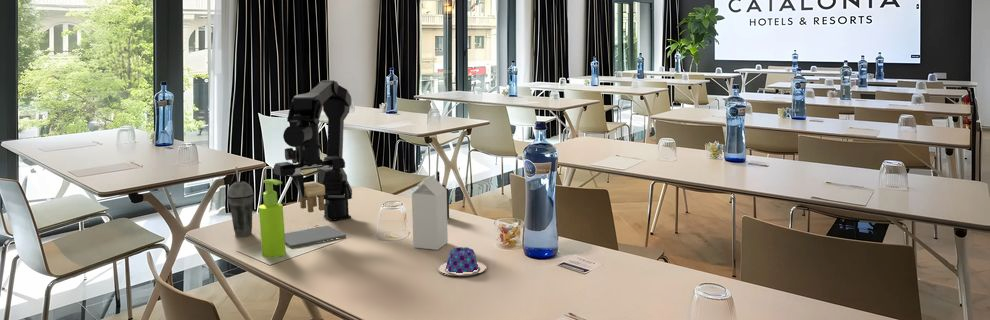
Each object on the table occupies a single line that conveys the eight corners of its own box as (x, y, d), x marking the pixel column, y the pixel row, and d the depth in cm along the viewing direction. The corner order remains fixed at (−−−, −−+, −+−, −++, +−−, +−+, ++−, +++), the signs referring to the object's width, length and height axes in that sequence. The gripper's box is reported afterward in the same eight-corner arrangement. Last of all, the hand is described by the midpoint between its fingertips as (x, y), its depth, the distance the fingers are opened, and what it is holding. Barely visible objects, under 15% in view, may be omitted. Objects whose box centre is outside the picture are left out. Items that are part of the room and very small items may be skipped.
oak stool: (325, 210, 195) (324, 185, 193) (308, 213, 192) (307, 188, 190) (315, 205, 200) (314, 181, 199) (299, 207, 197) (297, 183, 196)
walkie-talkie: (442, 216, 219) (441, 169, 216) (450, 217, 217) (449, 170, 214) (432, 219, 215) (431, 171, 212) (440, 221, 213) (439, 173, 210)
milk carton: (447, 242, 191) (446, 175, 188) (437, 250, 185) (435, 180, 181) (424, 240, 194) (422, 173, 190) (413, 248, 187) (411, 178, 183)
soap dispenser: (275, 259, 178) (270, 183, 174) (257, 255, 182) (252, 180, 178) (293, 253, 183) (288, 179, 179) (275, 249, 187) (270, 176, 183)
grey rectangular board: (328, 228, 206) (328, 225, 206) (346, 237, 197) (345, 234, 197) (275, 237, 197) (275, 235, 197) (291, 248, 187) (290, 245, 187)
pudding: (438, 262, 176) (438, 243, 175) (486, 262, 176) (486, 242, 175) (436, 279, 164) (435, 258, 163) (487, 279, 165) (487, 258, 164)
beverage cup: (261, 231, 203) (256, 163, 200) (250, 238, 196) (244, 169, 193) (237, 230, 204) (231, 163, 200) (225, 237, 197) (219, 168, 193)
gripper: (328, 134, 204) (330, 185, 207) (264, 140, 193) (268, 195, 196) (344, 138, 195) (347, 192, 198) (279, 146, 184) (283, 203, 187)
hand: (311, 195), depth 195 cm, fingers closed on oak stool, 5 cm apart
